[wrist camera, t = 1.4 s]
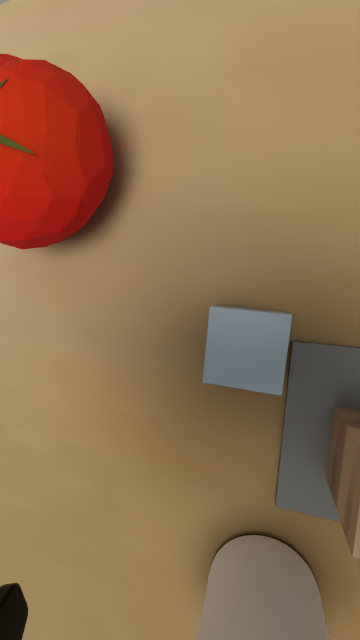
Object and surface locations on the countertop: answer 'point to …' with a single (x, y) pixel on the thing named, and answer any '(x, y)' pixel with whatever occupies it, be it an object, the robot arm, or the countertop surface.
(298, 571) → the pill bottle
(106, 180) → the tomato
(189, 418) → the countertop surface
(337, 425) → the tower base
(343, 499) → the tower top
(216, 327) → the pale grey cube
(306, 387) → the mat
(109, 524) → the countertop surface
